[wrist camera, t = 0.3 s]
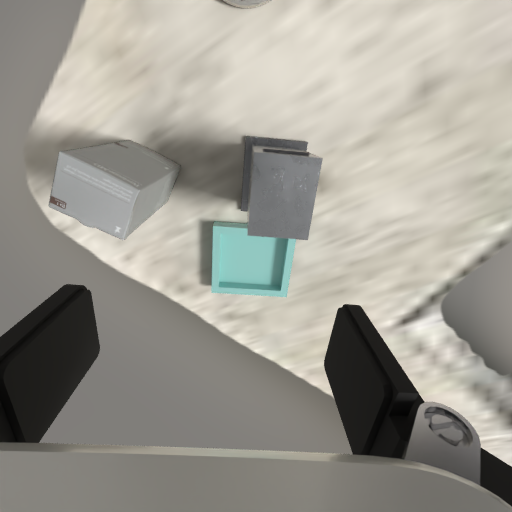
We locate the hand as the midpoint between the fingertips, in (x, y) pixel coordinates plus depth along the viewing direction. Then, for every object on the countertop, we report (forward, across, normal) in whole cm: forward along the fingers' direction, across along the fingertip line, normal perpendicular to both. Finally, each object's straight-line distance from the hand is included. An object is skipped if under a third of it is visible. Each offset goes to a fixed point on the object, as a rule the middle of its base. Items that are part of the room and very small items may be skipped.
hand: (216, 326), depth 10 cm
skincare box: (+35, +14, 0) cm, 38 cm away
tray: (+35, -3, +13) cm, 38 cm away
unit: (+35, -5, -1) cm, 35 cm away
